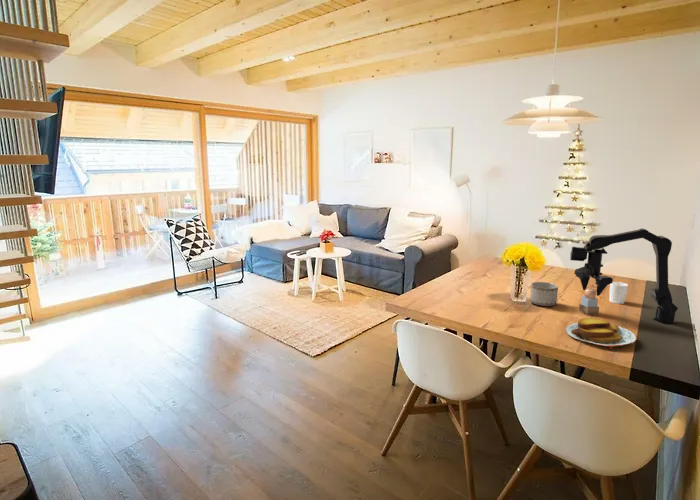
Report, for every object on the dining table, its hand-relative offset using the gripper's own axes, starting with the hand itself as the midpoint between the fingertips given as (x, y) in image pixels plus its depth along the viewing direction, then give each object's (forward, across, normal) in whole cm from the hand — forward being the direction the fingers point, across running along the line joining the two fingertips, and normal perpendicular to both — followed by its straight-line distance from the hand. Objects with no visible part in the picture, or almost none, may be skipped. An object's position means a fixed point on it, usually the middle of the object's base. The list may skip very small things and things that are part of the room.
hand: (591, 292), depth 193 cm
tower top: (+6, 0, 0) cm, 7 cm away
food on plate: (+11, +27, -16) cm, 33 cm away
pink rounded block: (+2, 0, 0) cm, 3 cm away
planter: (+10, -16, -14) cm, 24 cm away
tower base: (+10, 0, 0) cm, 11 cm away
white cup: (+11, -12, +26) cm, 31 cm away
